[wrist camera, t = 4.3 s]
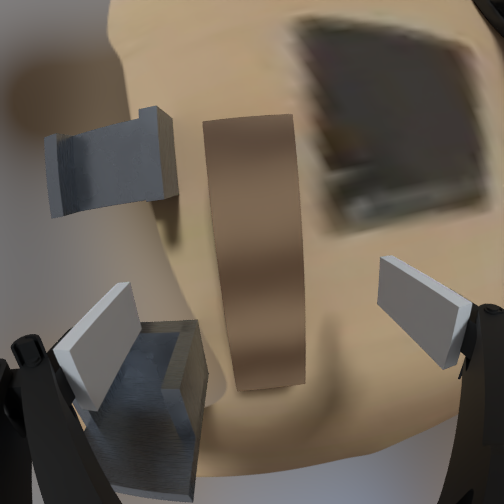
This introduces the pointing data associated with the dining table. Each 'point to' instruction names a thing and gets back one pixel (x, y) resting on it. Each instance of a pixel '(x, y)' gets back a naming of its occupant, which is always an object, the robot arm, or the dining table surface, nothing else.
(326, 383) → the dining table surface
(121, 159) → the saddle block
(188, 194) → the dining table surface
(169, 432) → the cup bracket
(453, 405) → the dining table surface
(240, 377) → the rail
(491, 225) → the dining table surface
